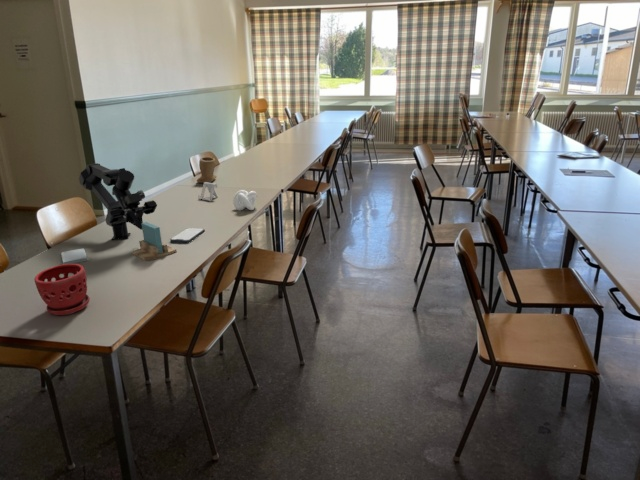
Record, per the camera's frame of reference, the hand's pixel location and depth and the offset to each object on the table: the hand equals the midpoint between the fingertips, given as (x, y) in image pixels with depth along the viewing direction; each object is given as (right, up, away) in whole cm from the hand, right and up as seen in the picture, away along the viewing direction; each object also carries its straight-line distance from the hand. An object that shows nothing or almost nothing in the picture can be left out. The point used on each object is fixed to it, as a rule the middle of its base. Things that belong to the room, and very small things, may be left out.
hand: (142, 229), depth 188 cm
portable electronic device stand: (+10, +18, +72) cm, 74 cm away
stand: (+5, -9, -2) cm, 11 cm away
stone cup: (0, +32, +111) cm, 116 cm away
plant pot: (-6, -25, -43) cm, 50 cm away
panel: (+5, -8, -2) cm, 10 cm away
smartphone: (+14, -3, +15) cm, 21 cm away
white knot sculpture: (+33, +11, +51) cm, 61 cm away
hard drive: (-24, -12, -4) cm, 27 cm away
